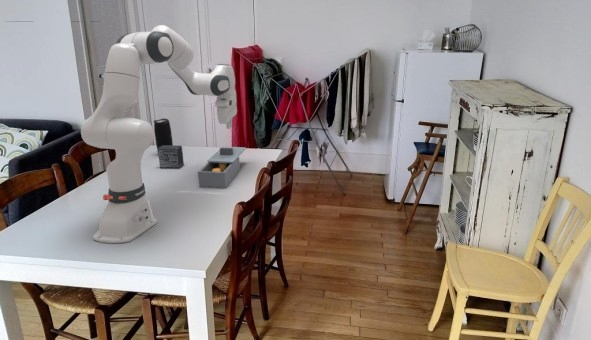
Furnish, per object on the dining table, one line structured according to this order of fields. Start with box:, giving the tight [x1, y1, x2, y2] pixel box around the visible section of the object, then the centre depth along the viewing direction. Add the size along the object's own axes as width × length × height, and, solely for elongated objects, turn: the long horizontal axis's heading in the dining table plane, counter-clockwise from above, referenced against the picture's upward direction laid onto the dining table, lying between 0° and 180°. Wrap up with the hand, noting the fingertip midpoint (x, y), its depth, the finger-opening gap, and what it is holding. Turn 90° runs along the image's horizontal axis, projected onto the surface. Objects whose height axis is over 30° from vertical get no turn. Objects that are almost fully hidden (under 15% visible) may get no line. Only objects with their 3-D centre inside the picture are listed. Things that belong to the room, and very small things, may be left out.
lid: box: [207, 146, 247, 163], centre depth 196 cm, size 22×12×4 cm, turn 171°
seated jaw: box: [219, 163, 227, 172], centre depth 191 cm, size 4×4×6 cm
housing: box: [197, 156, 241, 189], centre depth 187 cm, size 22×12×8 cm, turn 171°
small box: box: [157, 145, 185, 169], centre depth 206 cm, size 11×6×10 cm, turn 84°
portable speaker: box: [153, 118, 174, 152], centre depth 223 cm, size 9×9×20 cm
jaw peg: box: [212, 168, 221, 172], centre depth 183 cm, size 4×4×6 cm
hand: (229, 127), depth 196 cm, fingers closed
